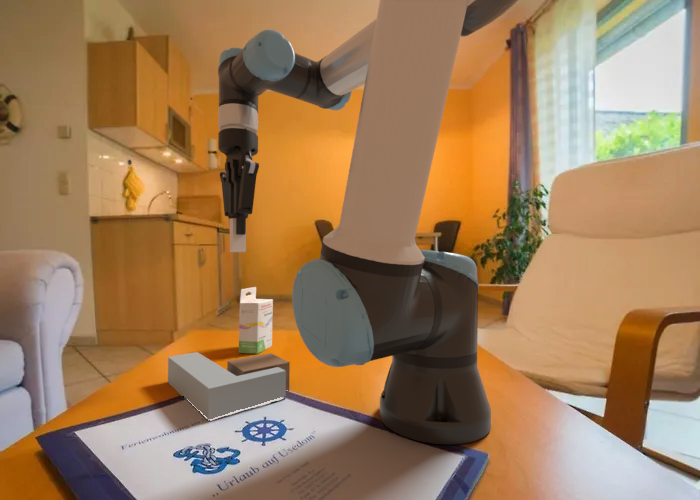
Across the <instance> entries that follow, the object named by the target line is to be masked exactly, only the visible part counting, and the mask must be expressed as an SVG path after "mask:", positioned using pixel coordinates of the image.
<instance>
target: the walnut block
mask: <svg viewBox="0 0 700 500" xmlns="http://www.w3.org/2000/svg"><path fill="white" fill-rule="evenodd" d="M226 363H227V365H226V366H227V368H226V370H227V371H229V372H231V373H232V374H234V375H236V376H240V375H244V374H249V373H253V372H258V371H262V370H267V369H271V368H276V367H279V368H281V369H283V370H285V371H286V390H288V392H290V365H291V364H290V362H289V361H288V360H286V359H283V358H282V357H279V356H277V355H276V354H273V353H271V352H270V353H265V354H259V355H258V354H257V355H253V356H249V357H243V358H241V357H240V358H238V359H237V358H236V359H231V360H227V362H226Z"/></svg>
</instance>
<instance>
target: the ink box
mask: <svg viewBox="0 0 700 500" xmlns="http://www.w3.org/2000/svg"><path fill="white" fill-rule="evenodd" d="M248 293H250V294H248ZM247 294H248V295H247ZM256 297H257V286H253V287H247V288H241V289H240V297H239V310H238V311H239V317H238V318H239V320H238V321H239V322H238V323H239V324H238V325H239V326H238V353H239V354H251V355H258V354H260V353H261V352H263V351H265V350H267V349H269V348H271V347H272V346H273V310H274V309H273V308H274V304H273V303H274V299H272V298H271V299H270V298H269V299H266V298H256Z"/></svg>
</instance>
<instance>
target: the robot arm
mask: <svg viewBox="0 0 700 500" xmlns="http://www.w3.org/2000/svg"><path fill="white" fill-rule="evenodd" d="M518 1H519V0H379V4H378V9H377V13H376V15H377V16H376V18H375V19H374V20H373V21H371V22H370V23H369V24H368V25H366V26H364V28H362V29H361V30H360V31H357V32H356V33H355V34H354V35H353V36H350V37H349V38H348V39H347V40H346V41H344V42H343V43H342V44H340V45H338V47H337V48H335V49H334V50H332V51H331V52H330V53H328V54H327V55H325V56H323V58H321V59H320V60H318V61H315V60H313V59H310V58H308V57H306V56H303V55H301V54H298V53H296V52H295V51H294V50H295V49H294V48H293V45H292V43H291V42H290V41H289V40H288V39H286V38H285V37H284V34H282V33H280V32H279V31H277V30H274V29H264V30H261V31H259V33H257V34H255V35H254V36H253V37H252V38H250V39H249V40H248V41H247V42H246V44H245V46H244V47H242V48H241V47H230V48H229V49H224V50H223V51H222V52H221V53H220V55H219V63H218V64H219V65H218V68H217V73H218V107H217V108H218V110H217V111H218V112H217V119H218V120H217V127H218V130H219V132H218V133H217V135H218V144H217V146H218V147H217V148H218V151H219V152H220V153H222V154H224V155H225V156H226V158H225V163H224V170H225V171H220V172H219V178H220V181H221V190H222V191H221V192H222V202H223V211H224V212H223V213H224V217H227V218H228V219H229V253H246V252H247V219H248V218H249V215H252V214H253V209H254V202H255V201H254V200H255V192H256V184H257V183H256V182H257V176H258V172H259V168H260V163H259V162H254V161H253V157H254V156H256V155H258V152H259V135H257V134H258V132H259V130H258V129H259V126H260V121H259V96H260V95H263V93H265V92H266V91H268V90H269V91H270V92H271V91H272V92H274V93H278V94H281V95H283V96H287V97H290V98H293V99H297V100H299V101H302V102H305V103H308V104H311V105H314V106H318V107H319V108H321V109H324V110H331V111H341V110H342V109H344V108H345V106H346V104H347V103H349V101H350V99H351V96H352V92H353V91H354V90H357V88H360V87H361V86H364V87H363V91H362V97H361V103H360V109H359V114H358V118H357V119H358V120H357V125H356V132H355V137H354V142H353V149H352V154H351V159H350V164H349V169H348V175H347V179H346V180H347V181H346V185H345V191H344V197H343V202H342V207H341V214H340V219H339V224H338V226H337V227H336V228H334V229H333V230H332V231H330V232H329V233H328V234H326V235H324V236H323V239H322V243H321V246H320V247H321V248H320V253H319V254H320V255H319V258H314V259H312V260H310V261H307V262H305V263H304V264H303V265H302V266H301V267H300V269H299V270H298V271H297V273H296V275H295V277H294V280H293V284H292V291H291V292H292V297H291V299H292V301H291V302H292V310H293V316H294V320H295V324H296V327H297V329H298V332H299V335H300V337H301V339H302V342H303V343H304V345H305V347H306V348H307V349H308V351H309V353H310V354H312V356H313V357H315V359H317V360H318V361H319V362H320V363H323V364H324V365H326V366H329V367H331V368H332V367H333V368H342V367H348V366H353V365H354V366H363V365H365V364H367V363H369V362H372V361H376V360H380V359H385V358H388V357H392V358H391V363H390V367H389V369H388V370H389V371H388V373H387V376H386V380H385V382H384V386H383V391H382V392H381V394H380V398H379V418H380V421H381V422H382V423H383V425H385V426H386V427H387V428H388V429H389V430H391V431H393V433H396V434H399V435H400V436H402V437H405V438H408V439H410V440H415V441H418V442H423V443H427V444H434V445H461V444H468V443H473V442H476V441H478V440H480V439H483V438H484V437H486V436H487V435H488V434H489V433H490V431H491V430H492V410H491V405H490V403H489V399H488V397H487V392H486V390H485V386H484V384H483V383H484V382H483V380H482V377H481V375H480V374H481V373H480V370H479V368H478V325H479V323H478V321H479V320H478V319H479V318H478V314H479V313H478V309H479V306H478V304H479V288H480V284H479V280H478V268H477V265H476V262H475V261H474V260H473V259H472V258H471V257H469V256H466V255H463V254H460V253H455V252H454V253H453V252H447V251H436V250H431V249H428V250H427V249H420V248H419V247H418V245H417V243H416V235H417V231H418V226H419V221H420V218H421V214H422V213H421V212H422V208H423V205H424V201H425V200H424V199H425V195H426V191H427V186H428V183H429V182H428V181H429V177H430V173H431V169H432V165H433V159H434V154H435V151H436V147H437V142H438V137H439V133H440V129H441V125H442V119H443V116H444V111H445V105H446V103H447V97H448V94H449V90H450V89H449V88H450V84H451V79H452V75H453V71H454V70H453V69H454V66H455V63H456V59H457V58H456V57H457V53H458V50H459V49H458V48H459V45H460V41H461V40H460V39H461V38H465V37H468V36H470V35H471V34H474V33H475V32H477V31H479V30H481V29H483V28H484V27H486V26H487V25H489V24H491V23H493V22H494V21H496V20H497V19H498V18H500V17H501V16H502V15H504V14H505V13H506V12H507V11H508V10H510V9H511V8H512V7H513V6H514V5H515V4H517V2H518Z"/></svg>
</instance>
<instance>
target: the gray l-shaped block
mask: <svg viewBox="0 0 700 500" xmlns="http://www.w3.org/2000/svg"><path fill="white" fill-rule="evenodd" d="M167 365H168V366H167V383H168V384H169V385H170V386H171V387H172V388H173V389H174V390H175V391H176V392H177V393H178V394H179V395H180V396H181V397H182V396H184V397H185V398H186V399H188V400H189V401H190V402H191V403H192V404H193V405H194V406H195V407H196V408H197V409H198V410H200V411H201V412H202V413H203V415H205V416H206V417H207V418H208V419H213V418H215V417H218V416H222V415H225V414H228V413H230V412H234V411H236V410H240V409H245V408H248V407H252V406H255V405H258V404H261V403H264V402H267V401H270V400H274V399H277V398H280V397H284V396H286V397H287V395H286V394H287V392H286V371H285V370H283V369H281V368H279V367H276V368H271V369H267V370H262V371H258V372H253V373H249V374H244V375H240V376H236V375H234V374H232V373H231V372H229V371H227V368H224V367H222V366H221V365H220V364H218V363H216V362H214V361H212V360H211V359H209V358H208V357H206V356H205V355H203V354H201V353H199V352H198V351H197V352H196V351H195V352H190V353H183V354H178V355H177V354H176V355H173V356H172V355H171V356H168V358H167ZM185 398H184V399H185ZM186 399H185V400H186Z"/></svg>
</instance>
